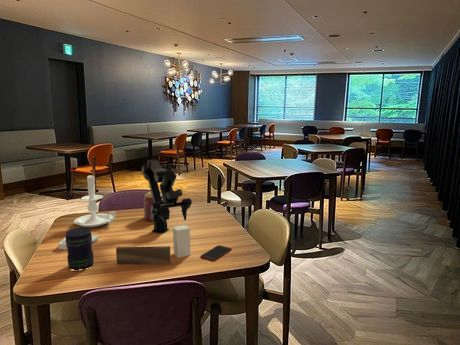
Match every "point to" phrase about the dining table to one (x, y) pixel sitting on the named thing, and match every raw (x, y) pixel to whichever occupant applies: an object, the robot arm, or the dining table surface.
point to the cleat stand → (143, 255)
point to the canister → (148, 205)
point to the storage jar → (79, 248)
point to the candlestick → (93, 208)
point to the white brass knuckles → (63, 243)
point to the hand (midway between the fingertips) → (176, 221)
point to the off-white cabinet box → (181, 241)
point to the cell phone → (216, 253)
